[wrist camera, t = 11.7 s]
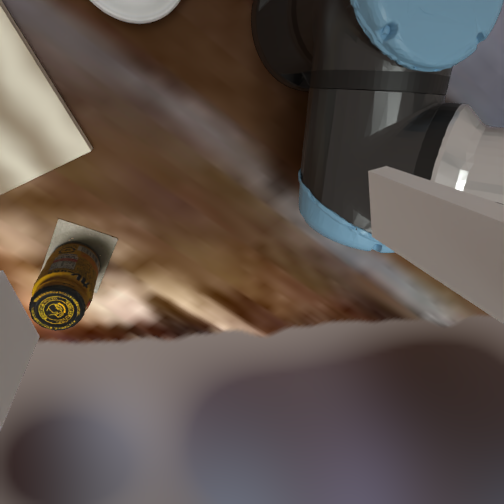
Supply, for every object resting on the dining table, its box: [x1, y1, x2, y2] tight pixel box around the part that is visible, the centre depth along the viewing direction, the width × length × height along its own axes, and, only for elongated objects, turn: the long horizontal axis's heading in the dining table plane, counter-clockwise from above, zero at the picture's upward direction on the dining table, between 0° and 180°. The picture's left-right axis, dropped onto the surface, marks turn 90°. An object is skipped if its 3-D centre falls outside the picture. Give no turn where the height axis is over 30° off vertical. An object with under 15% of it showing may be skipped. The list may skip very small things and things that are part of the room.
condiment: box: [29, 219, 118, 331], centre depth 44 cm, size 7×8×12 cm
